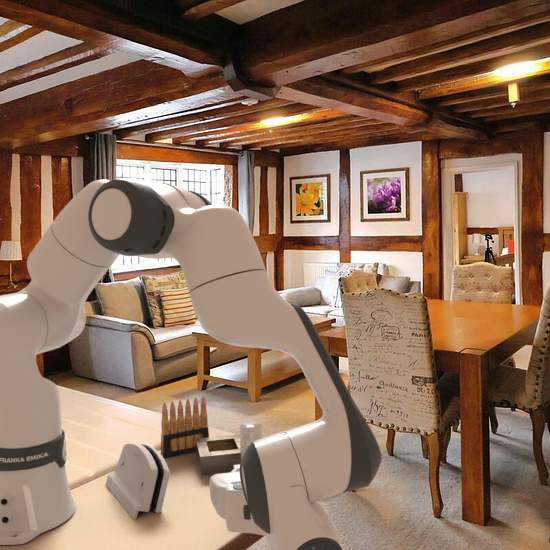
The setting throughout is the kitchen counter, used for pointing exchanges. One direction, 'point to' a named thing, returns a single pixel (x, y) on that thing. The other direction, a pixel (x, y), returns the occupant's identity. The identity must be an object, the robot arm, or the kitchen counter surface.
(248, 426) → the pin
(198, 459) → the square nut block
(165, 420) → the ammunition clip
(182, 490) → the kitchen counter surface
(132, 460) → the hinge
